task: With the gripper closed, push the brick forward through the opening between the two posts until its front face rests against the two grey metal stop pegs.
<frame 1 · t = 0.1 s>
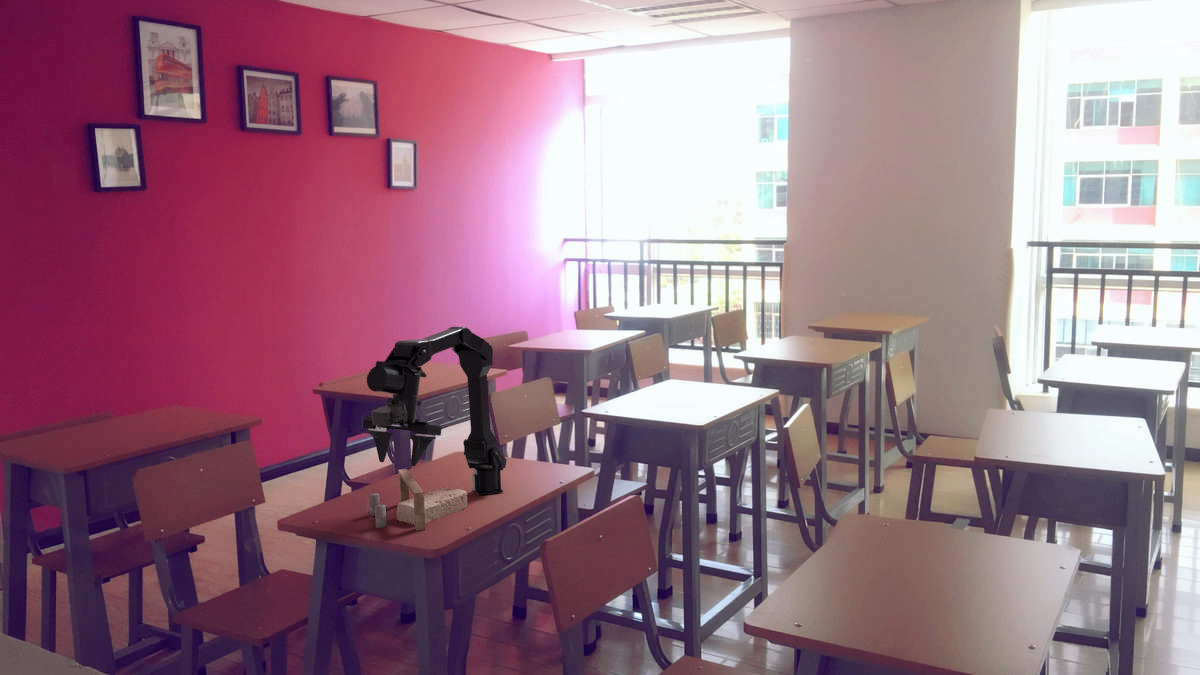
hand: (397, 464, 211), 15 cm above the table, tool pointing down, fingers open, 9 cm apart
shelf frame: (412, 516, 223), on the table
brick: (432, 515, 225), on the table
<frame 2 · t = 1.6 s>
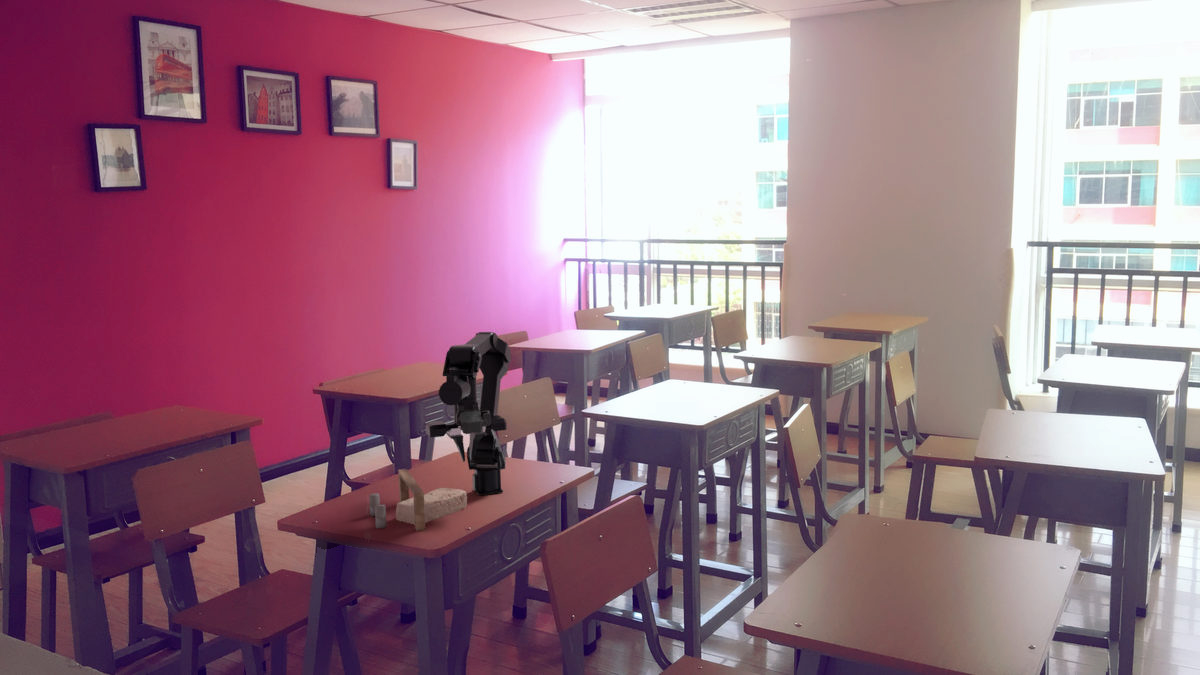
hand: (467, 460, 227), 12 cm above the table, tool pointing down, fingers closed
nothing on the table moved.
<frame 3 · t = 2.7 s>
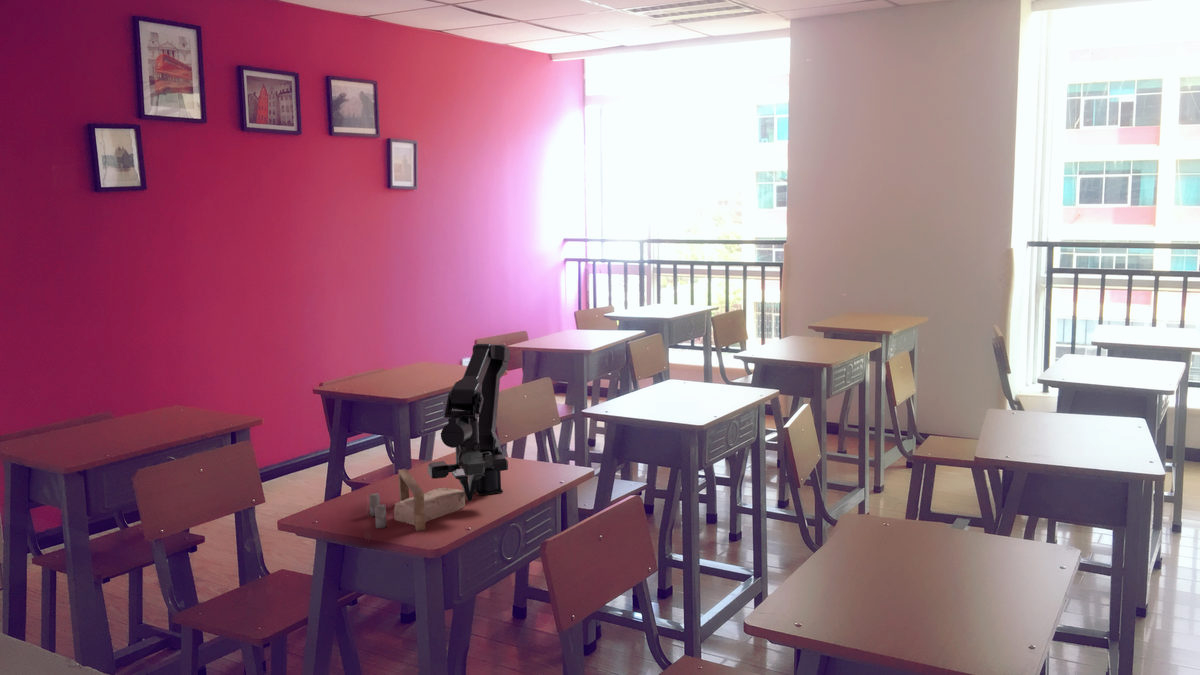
hand: (469, 500, 228), 2 cm above the table, tool pointing down, fingers closed
brick: (430, 515, 225), on the table, touching gripper
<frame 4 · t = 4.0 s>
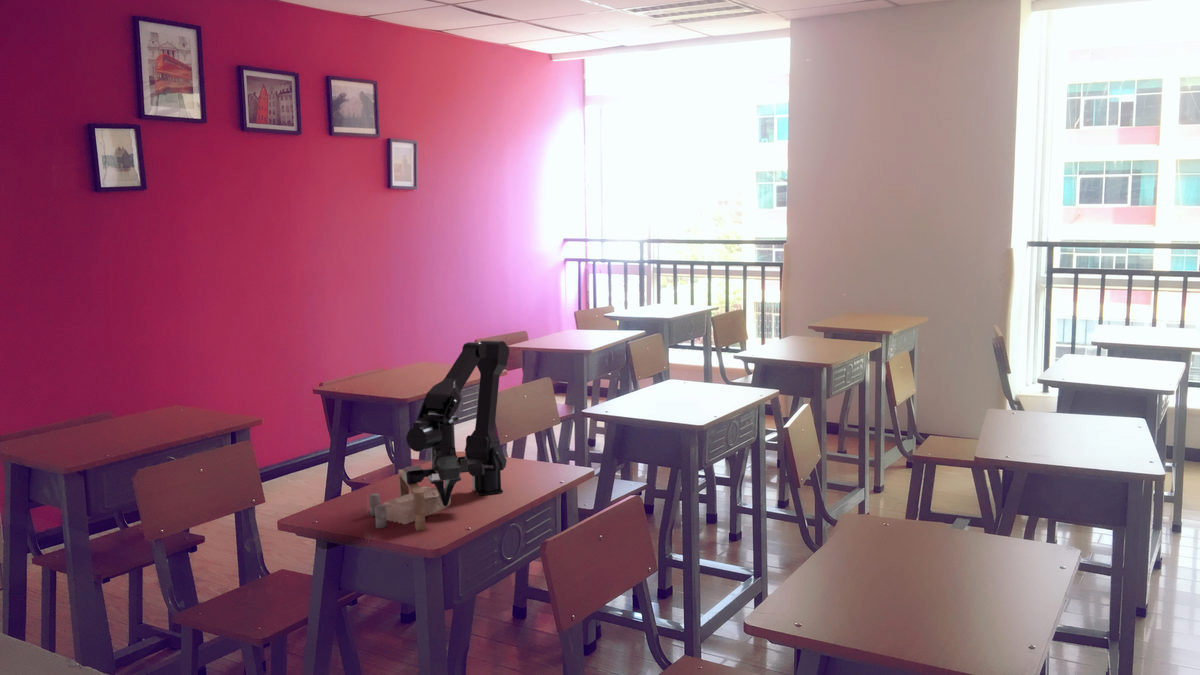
hand: (445, 505, 226), 2 cm above the table, tool pointing down, fingers closed
brick: (417, 514, 226), on the table
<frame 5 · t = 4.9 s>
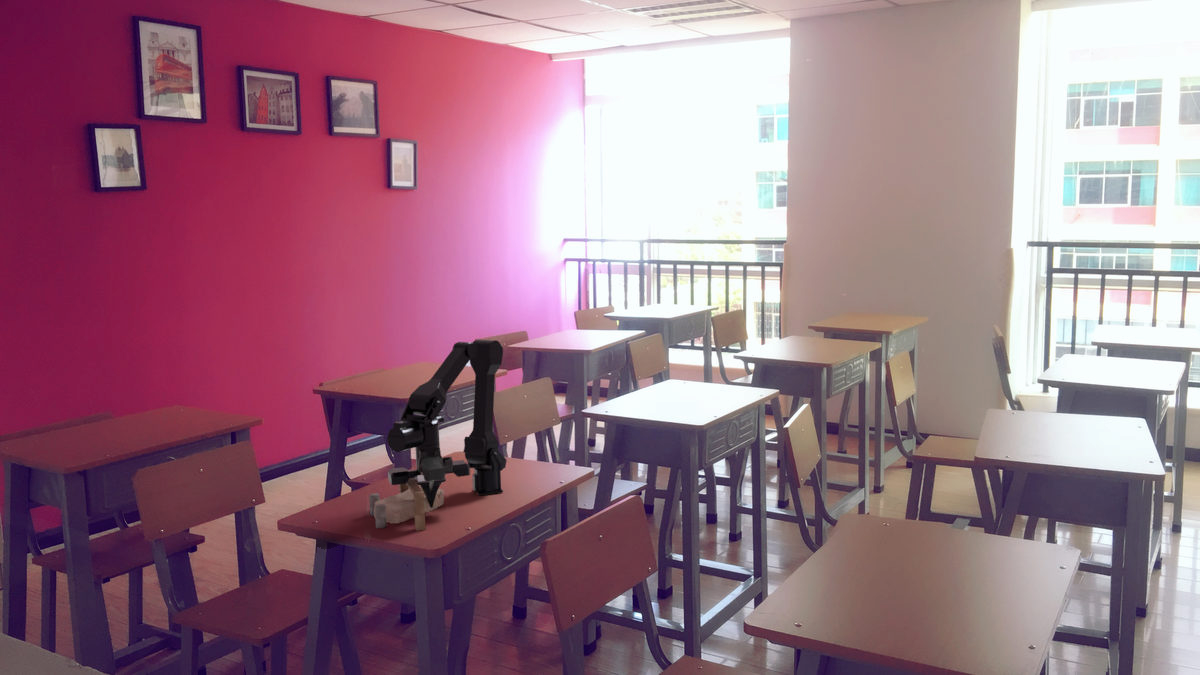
hand: (431, 507, 224), 2 cm above the table, tool pointing down, fingers closed
brick: (409, 513, 227), on the table, touching gripper, shelf frame
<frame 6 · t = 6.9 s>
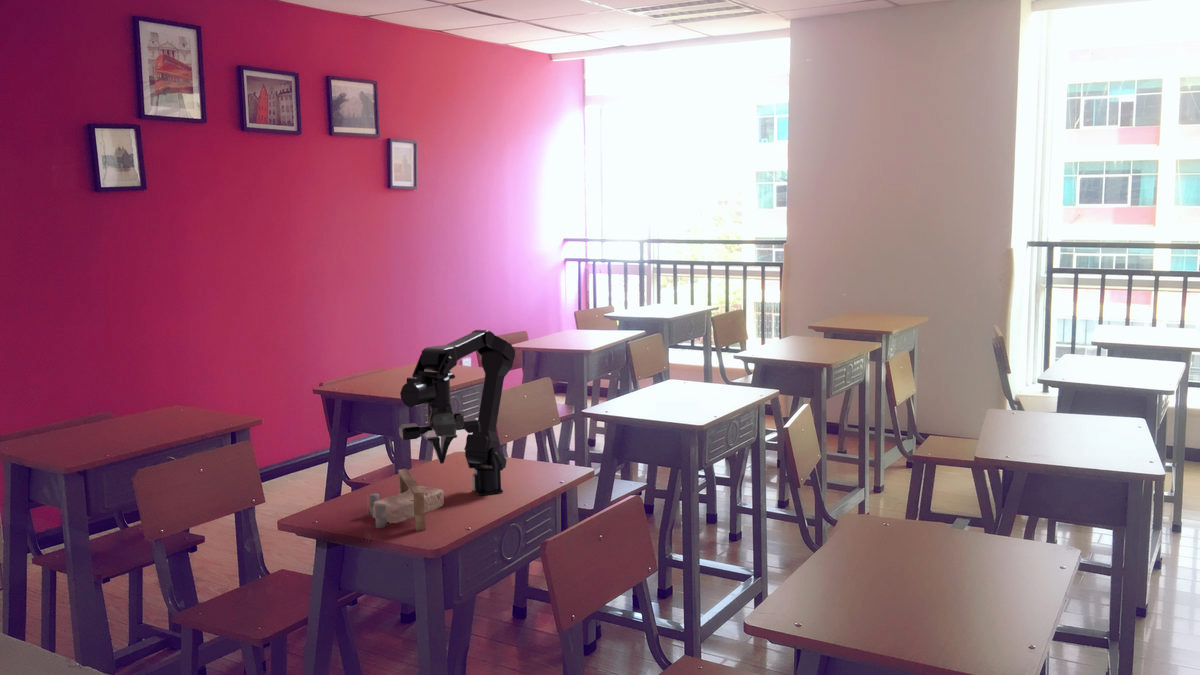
hand: (441, 463, 226), 12 cm above the table, tool pointing down, fingers closed
brick: (409, 514, 227), on the table
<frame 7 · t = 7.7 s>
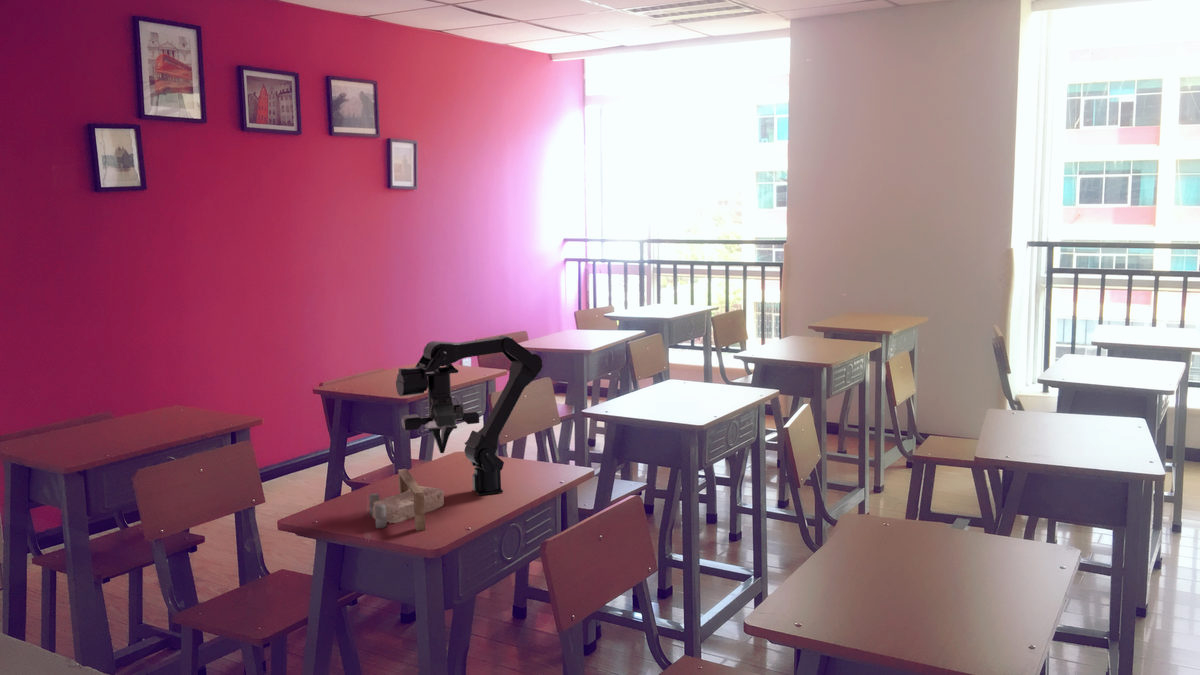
hand: (441, 452, 235), 12 cm above the table, tool pointing down, fingers closed
nothing on the table moved.
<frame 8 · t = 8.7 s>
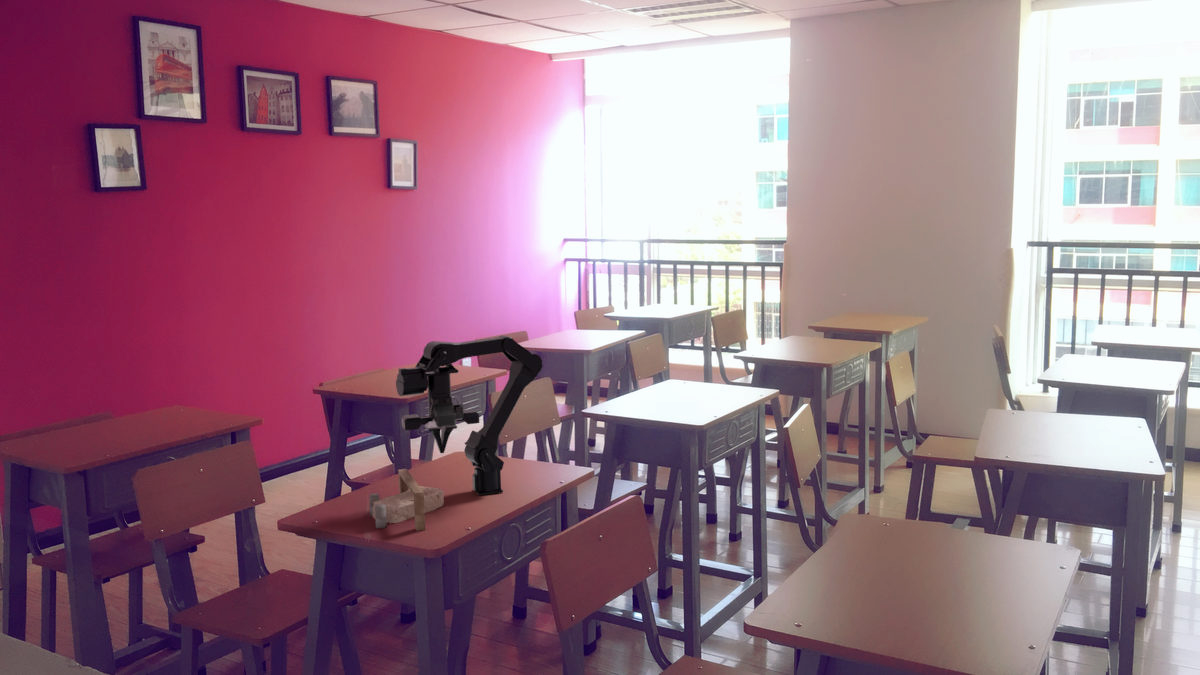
hand: (441, 452, 235), 12 cm above the table, tool pointing down, fingers closed
nothing on the table moved.
at the end: brick 4.3 cm from the target spot, on the table; brick tilted 1°; brick moved 6.3 cm from its start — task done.
